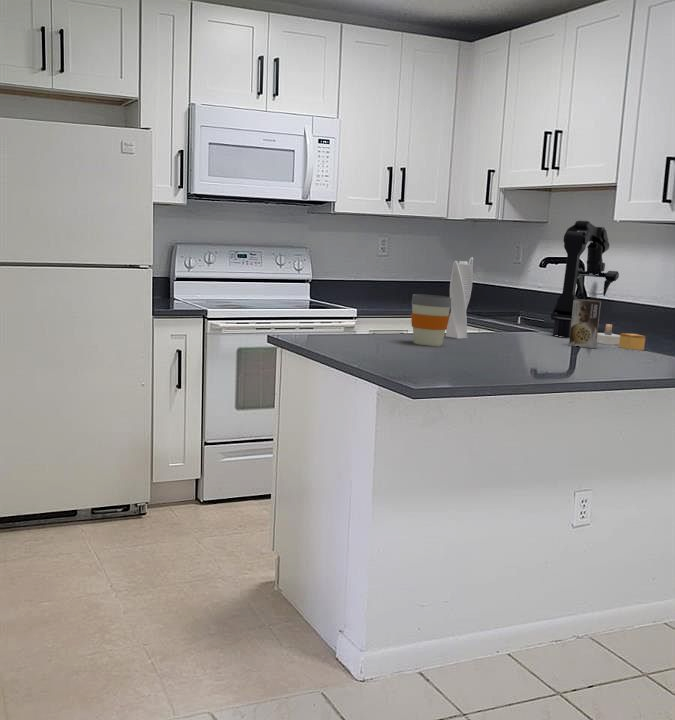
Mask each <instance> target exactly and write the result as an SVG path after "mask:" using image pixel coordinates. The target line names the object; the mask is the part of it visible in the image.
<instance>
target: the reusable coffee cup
mask: <svg viewBox="0 0 675 720" xmlns="http://www.w3.org/2000/svg"><path fill="white" fill-rule="evenodd" d="M410 304H411V307H412V308H411V310H412V312H410V318H411V320H410V322H411V327H412V337H413V338H412V339H413V341H412V342H413V344H416V345H422V346H433V347H436V346H437V347H441V346H442V345H443V341H444V339H445V337H444V336H445V334H446V333H445V332H446V331H447V326H448V321H449V317H450V311H451V297H450V296H444V295H436V294H435V295H434V294H421V293H419V294H418V293H415V294H414V293H413V294H412V299H411V303H410Z"/></svg>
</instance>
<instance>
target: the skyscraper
mask: <svg viewBox="0 0 675 720" xmlns="http://www.w3.org/2000/svg"><path fill="white" fill-rule="evenodd" d="M473 264H474V257H473V256H472V257H470V259H469V261H462V260H459V262H458V260H455V261H454V262H453V265H452V271H451V276H450V283H449V297H451V307H450V312H449V316H450V317H449V321H448V326H447V329H446V330H445V332H446V333H445V335H444V338H451V339H455V340H456V339H457V340H461V339H462V340H463V339H469V337H468V323H467V319H468V318H467V317H468V316H467V309H468V305H469V304H470V299H471V296H472V294H471V293H472V290H473V277H474V274H473V273H474V272H473V271H474V270H473V269H474V267H473Z"/></svg>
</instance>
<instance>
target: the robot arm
mask: <svg viewBox="0 0 675 720" xmlns="http://www.w3.org/2000/svg"><path fill="white" fill-rule="evenodd" d="M588 243H589V244H588ZM563 244H564V245H563V247H564V249H565V252H566V254H567V255H566V263H565V269H564V270H565V272H564V279H563V285H562V293H561V294H560V295H559V297H558V298H557V300H556V303H555V305H554V307H553V309H552V311H551V314H550V319H551V320H554V321H553V329H552V330H553V331H552V334H553V335H558V336H564V337H563V338H569V337H570V330H571V321H572V311H573V300H574V299H579V298H578V297H577V295H576V290H577V289H578V290H579V292H580V294H583V293H584V285H583V284H584V283H583V280H584V277H592V278H593V277H594V278H605V280H604V284H603V292H602V293H603V294H602V295H603V297H605V296H606V295H607V291H608V289H609V287H610V285H611V284H612V283H613V282H616V281H617V280H618V279H619V278H620V273H619V271H617V270H608V271H607V272H605V268H606V263H605V262H603V260H604V259H603V254H605V252H607V251H608V250H609V249H610V242H609V238H608V233H607V229H606V228H605V227H604V226H595V225H594V224H592V223H591V221H589V220H576V221H575V223H574V224H573V225H571V226H570V227H568V228H567V229H566V231H565V233H564V235H563ZM587 244H588V245H587ZM586 246H587V248H586ZM586 249H587V257H586V258H587V259H586V270H583V268H582V267H581V268H580V260H581V259H580V258H581V255H583V253H584V251H585V250H586ZM577 287H578V288H577ZM553 335H552V336H553Z"/></svg>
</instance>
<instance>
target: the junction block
mask: <svg viewBox="0 0 675 720" xmlns="http://www.w3.org/2000/svg"><path fill="white" fill-rule="evenodd" d="M619 341H620V334H616V333H613V324H612V323H611V324H610V323H606V324H605V329H604V332H598V334H597V343H598V344H601V343H602V344H601V345H613V346H614V345H615V346H616V345H617V346H619Z"/></svg>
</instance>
